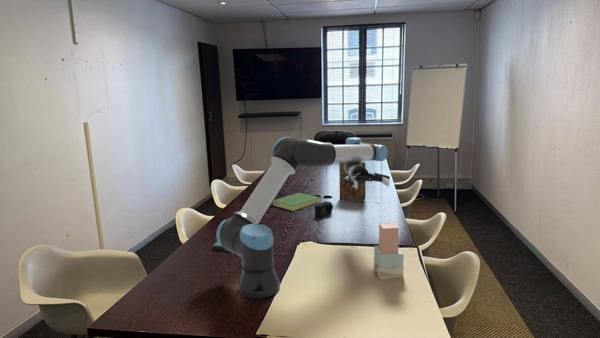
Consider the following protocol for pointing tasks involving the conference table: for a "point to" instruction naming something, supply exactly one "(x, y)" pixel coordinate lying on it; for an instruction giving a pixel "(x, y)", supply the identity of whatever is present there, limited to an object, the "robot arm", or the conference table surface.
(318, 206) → the digital camera
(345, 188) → the book
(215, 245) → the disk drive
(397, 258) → the tower upper block
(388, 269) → the tower base block
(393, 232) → the tall block
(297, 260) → the conference table surface
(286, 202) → the hardcover book
